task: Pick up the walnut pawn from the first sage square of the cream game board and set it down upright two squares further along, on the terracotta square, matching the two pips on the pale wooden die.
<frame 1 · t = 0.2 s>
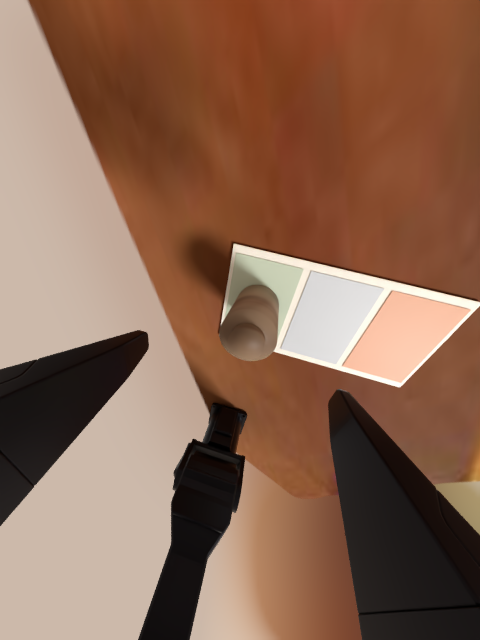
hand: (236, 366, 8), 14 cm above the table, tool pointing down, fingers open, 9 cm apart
game board: (324, 321, 21), on the table
walnut pawn: (257, 305, 21), resting on game board
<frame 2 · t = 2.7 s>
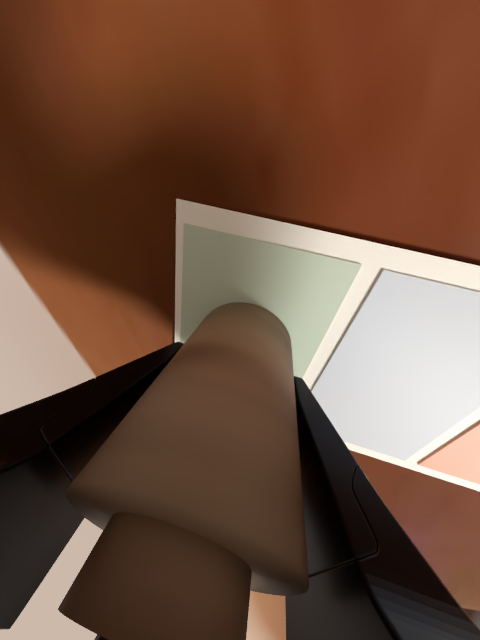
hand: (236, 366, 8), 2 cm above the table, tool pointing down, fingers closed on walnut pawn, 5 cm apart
game board: (392, 383, 9), on the table
walnut pawn: (243, 345, 10), resting on game board, touching gripper
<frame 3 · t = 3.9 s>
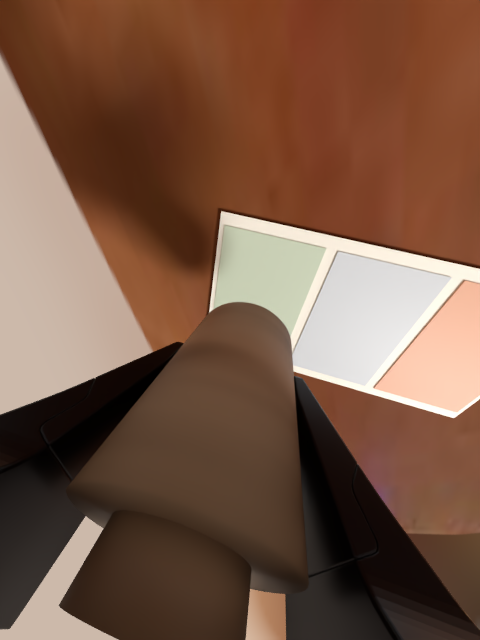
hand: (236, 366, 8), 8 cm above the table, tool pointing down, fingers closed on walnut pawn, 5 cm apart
game board: (352, 326, 15), on the table
walnut pawn: (243, 345, 10), point 7 cm above the table, touching gripper
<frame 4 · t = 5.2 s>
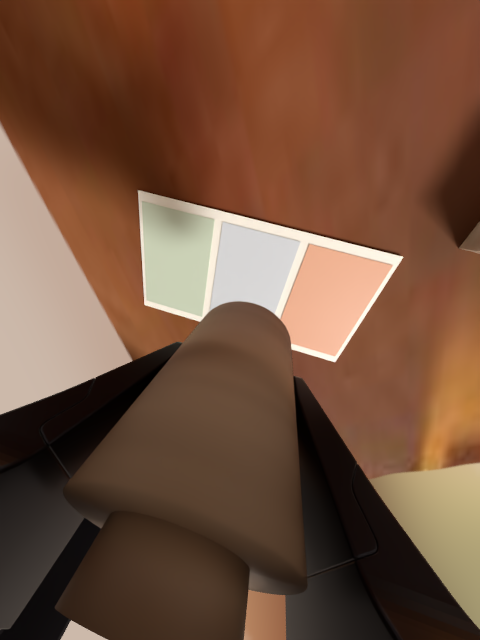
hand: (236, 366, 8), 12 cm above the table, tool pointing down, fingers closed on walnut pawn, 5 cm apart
game board: (248, 284, 19), on the table
walnut pawn: (242, 344, 10), point 11 cm above the table, touching gripper
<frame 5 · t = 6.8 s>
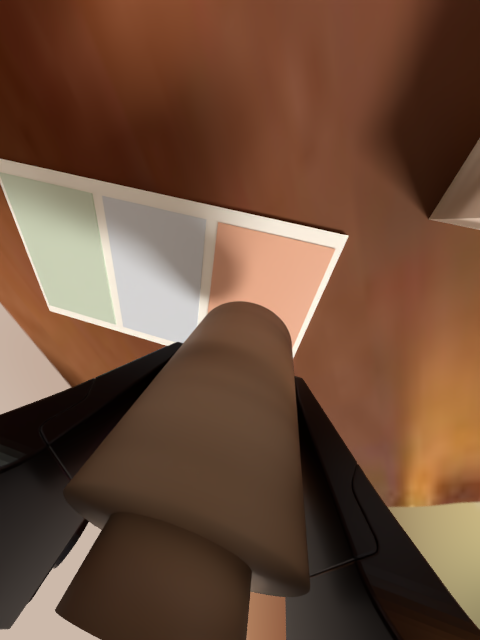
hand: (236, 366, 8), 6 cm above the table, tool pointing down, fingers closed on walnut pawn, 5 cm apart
game board: (159, 282, 14), on the table
walnut pawn: (243, 344, 10), point 5 cm above the table, touching gripper
when the fingers open (3 cm above the table, at t = 8.1 s): walnut pawn drops 1 cm, resting on game board.
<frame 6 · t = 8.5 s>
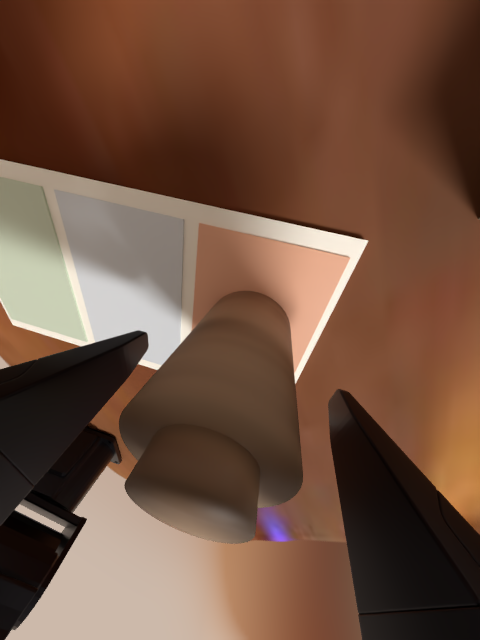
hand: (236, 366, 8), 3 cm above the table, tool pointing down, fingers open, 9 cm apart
game board: (133, 295, 12), on the table
walnut pawn: (247, 330, 11), resting on game board
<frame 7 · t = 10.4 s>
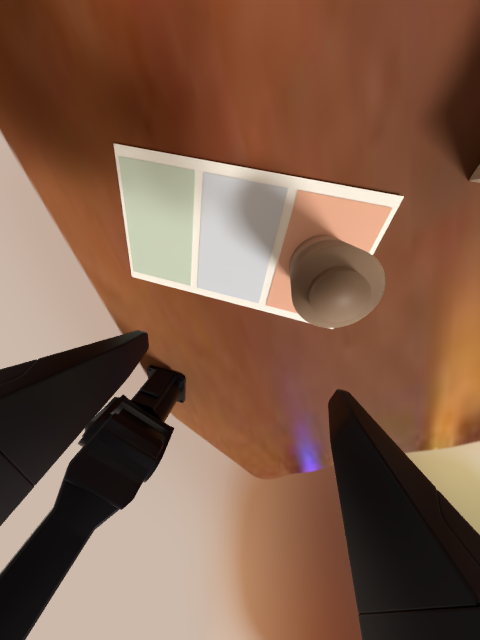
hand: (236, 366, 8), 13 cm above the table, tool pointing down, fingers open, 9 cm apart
game board: (235, 245, 18), on the table
walnut pawn: (317, 264, 17), resting on game board
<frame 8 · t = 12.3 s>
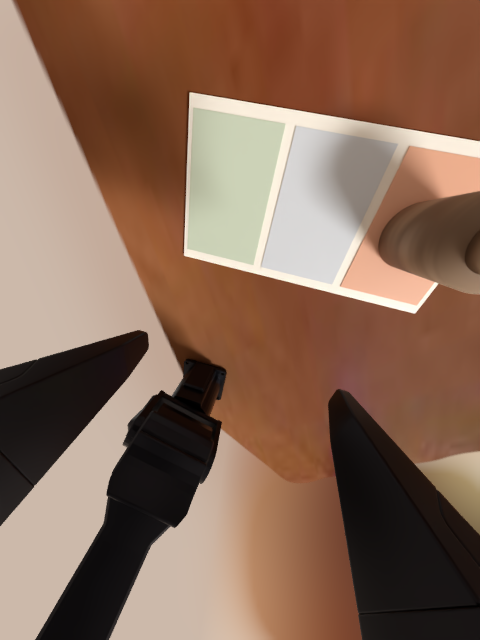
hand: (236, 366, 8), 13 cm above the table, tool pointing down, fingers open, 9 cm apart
game board: (316, 217, 16), on the table
walnut pawn: (414, 237, 15), resting on game board
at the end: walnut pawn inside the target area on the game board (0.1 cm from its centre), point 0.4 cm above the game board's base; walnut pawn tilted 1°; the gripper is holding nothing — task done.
